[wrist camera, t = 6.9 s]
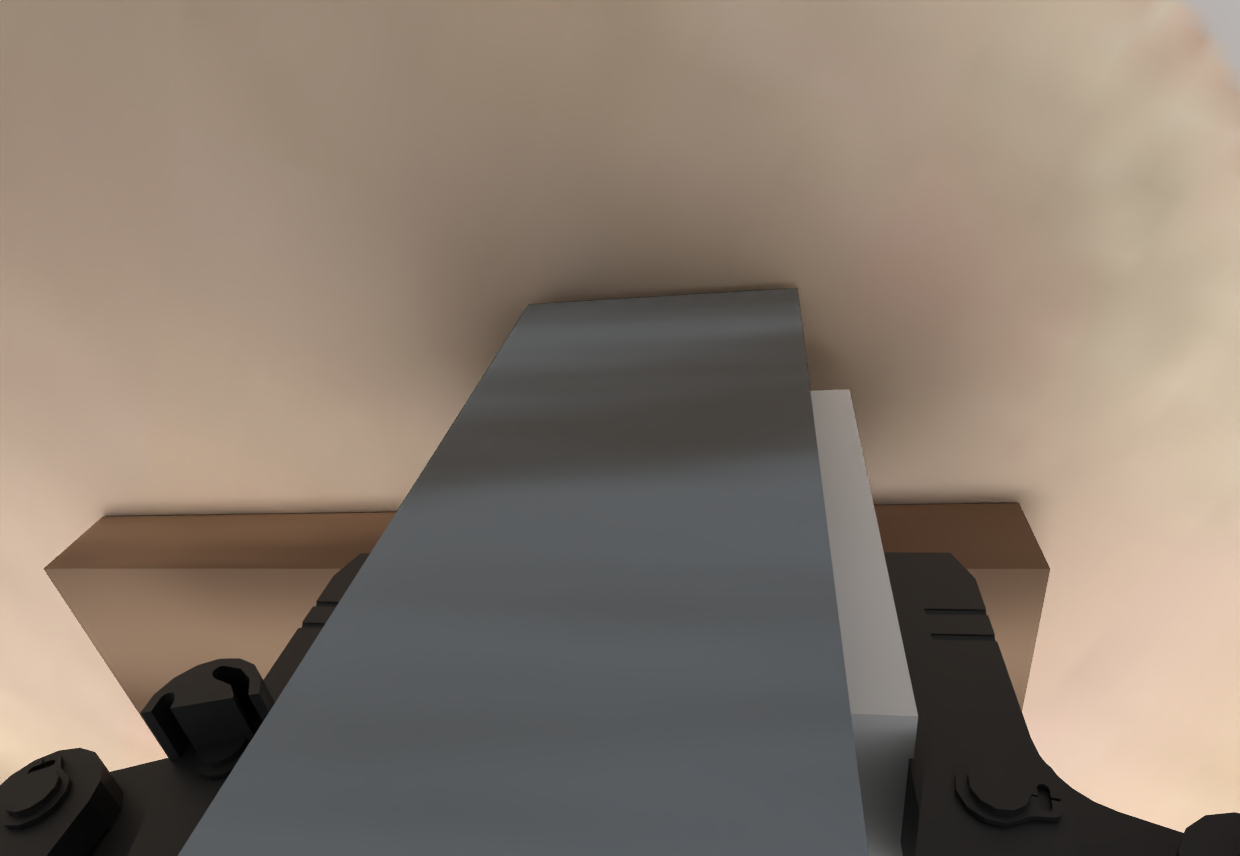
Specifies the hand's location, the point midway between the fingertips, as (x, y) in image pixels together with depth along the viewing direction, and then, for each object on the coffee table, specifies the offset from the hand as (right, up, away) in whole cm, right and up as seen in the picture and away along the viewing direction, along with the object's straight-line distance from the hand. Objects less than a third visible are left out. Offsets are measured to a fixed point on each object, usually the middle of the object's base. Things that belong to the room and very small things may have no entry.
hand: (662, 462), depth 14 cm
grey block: (+1, -4, +4) cm, 6 cm away
